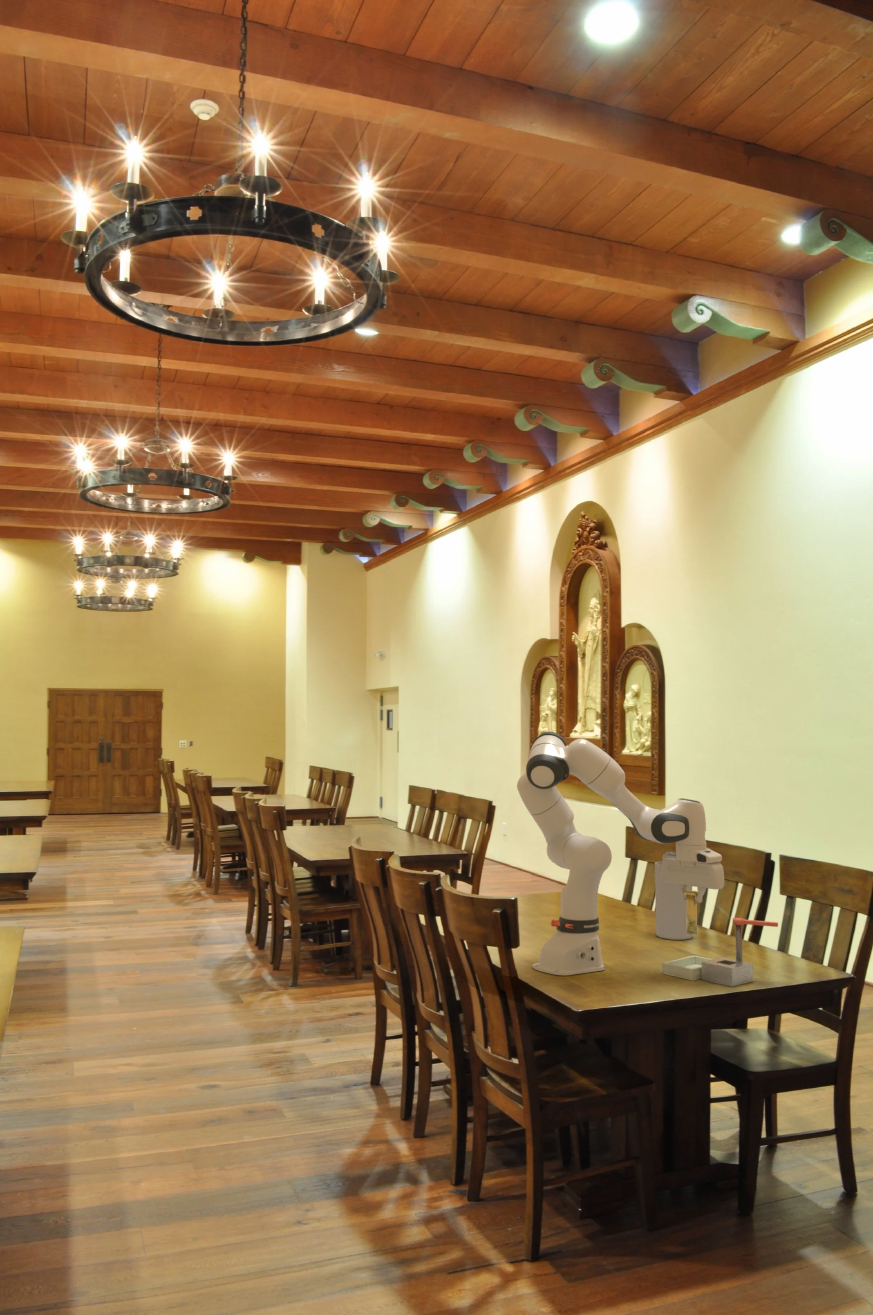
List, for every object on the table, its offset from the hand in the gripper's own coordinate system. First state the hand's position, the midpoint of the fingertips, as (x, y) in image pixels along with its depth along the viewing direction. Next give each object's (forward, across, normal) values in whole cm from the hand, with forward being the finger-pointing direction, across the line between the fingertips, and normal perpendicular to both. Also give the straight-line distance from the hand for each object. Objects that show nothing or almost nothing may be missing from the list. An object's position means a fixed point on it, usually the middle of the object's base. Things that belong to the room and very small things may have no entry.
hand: (692, 901), depth 286 cm
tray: (+21, 0, 0) cm, 21 cm away
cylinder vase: (+21, -36, +38) cm, 56 cm away
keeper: (+6, +16, +8) cm, 18 cm away
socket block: (+21, +11, +1) cm, 24 cm away
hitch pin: (+9, 0, -1) cm, 9 cm away
